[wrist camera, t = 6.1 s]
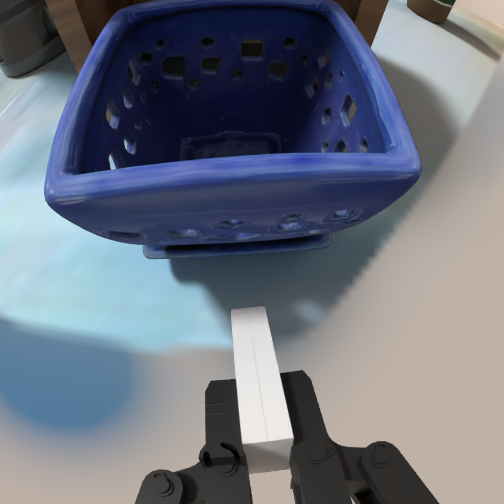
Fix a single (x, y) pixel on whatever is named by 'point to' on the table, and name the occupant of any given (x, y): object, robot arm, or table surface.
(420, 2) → the beer bottle
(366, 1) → the shelf
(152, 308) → the table surface
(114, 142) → the flower pot
